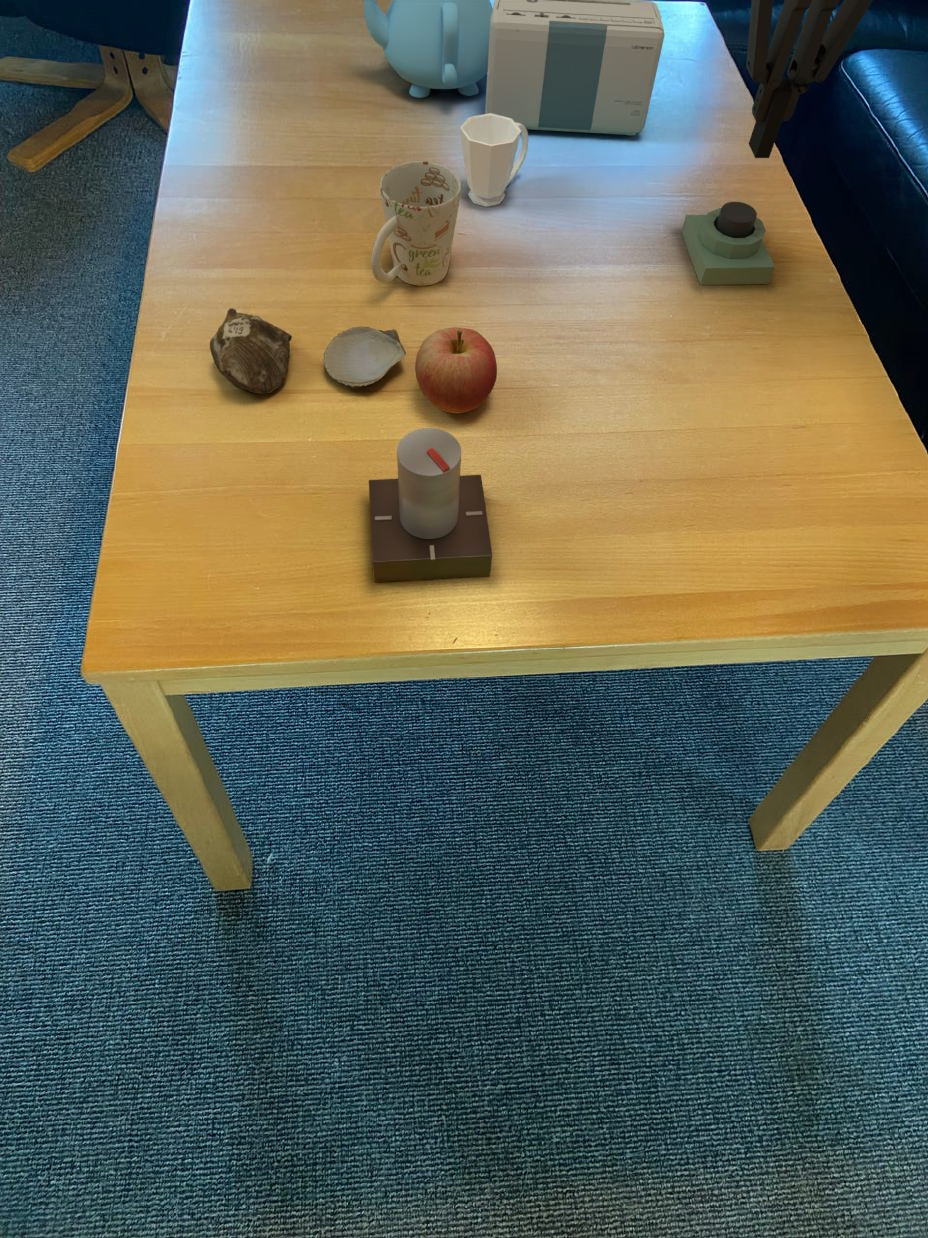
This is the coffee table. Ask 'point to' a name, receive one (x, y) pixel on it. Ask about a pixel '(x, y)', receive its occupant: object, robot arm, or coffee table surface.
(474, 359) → the apple
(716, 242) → the button box
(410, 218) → the mug
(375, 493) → the control panel
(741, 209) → the button
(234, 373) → the fossilized seashell
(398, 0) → the teapot
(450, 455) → the dial
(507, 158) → the cup
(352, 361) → the seashell
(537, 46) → the white and blue toaster
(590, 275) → the coffee table surface
